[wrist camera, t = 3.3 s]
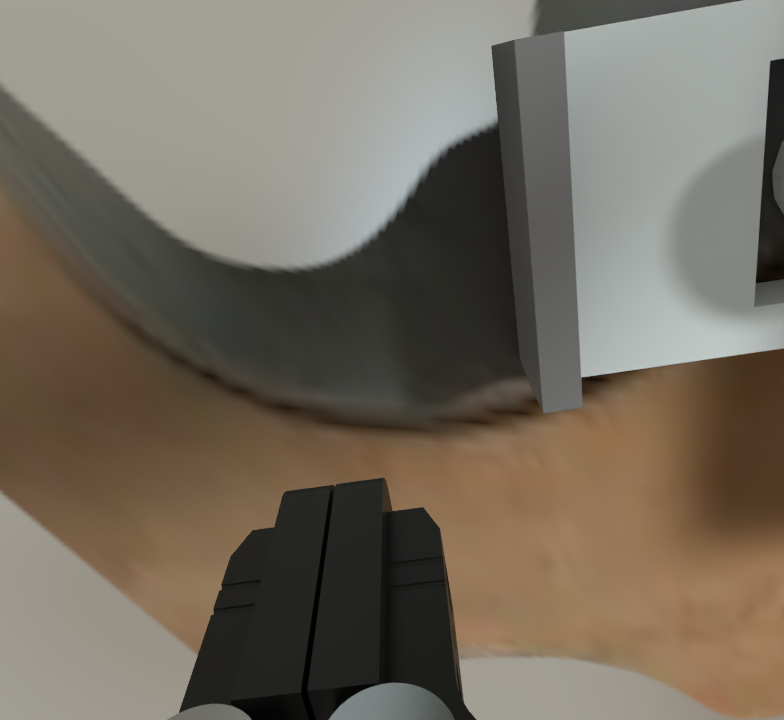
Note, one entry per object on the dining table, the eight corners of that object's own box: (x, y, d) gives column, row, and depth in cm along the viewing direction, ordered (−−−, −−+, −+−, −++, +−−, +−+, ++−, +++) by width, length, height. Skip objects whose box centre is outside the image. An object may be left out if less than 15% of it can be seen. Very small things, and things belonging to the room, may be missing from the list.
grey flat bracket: (1041, -52, 23) (1201, -83, 18) (970, 294, 28) (1081, 337, 24) (491, 45, 24) (514, 40, 20) (519, 360, 30) (543, 413, 25)
